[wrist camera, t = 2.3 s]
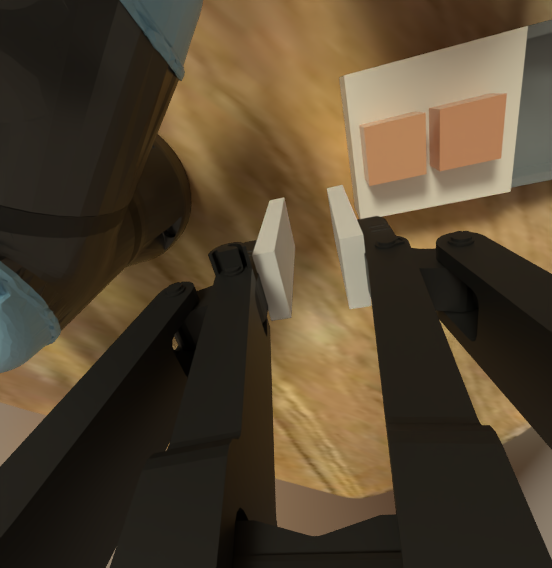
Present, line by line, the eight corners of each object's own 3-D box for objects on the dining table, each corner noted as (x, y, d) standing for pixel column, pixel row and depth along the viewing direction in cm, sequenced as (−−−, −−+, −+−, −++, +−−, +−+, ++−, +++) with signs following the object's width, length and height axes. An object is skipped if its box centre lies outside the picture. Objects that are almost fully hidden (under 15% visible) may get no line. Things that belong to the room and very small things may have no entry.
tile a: (364, 179, 30) (369, 186, 28) (359, 124, 28) (363, 127, 25) (417, 168, 29) (426, 174, 27) (415, 111, 27) (425, 112, 25)
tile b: (429, 165, 29) (439, 171, 27) (428, 107, 27) (439, 109, 24) (485, 153, 28) (501, 158, 26) (489, 93, 26) (506, 93, 24)
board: (355, 208, 35) (360, 220, 32) (339, 77, 29) (344, 75, 26) (488, 181, 33) (510, 191, 29) (499, 34, 27) (528, 25, 24)
